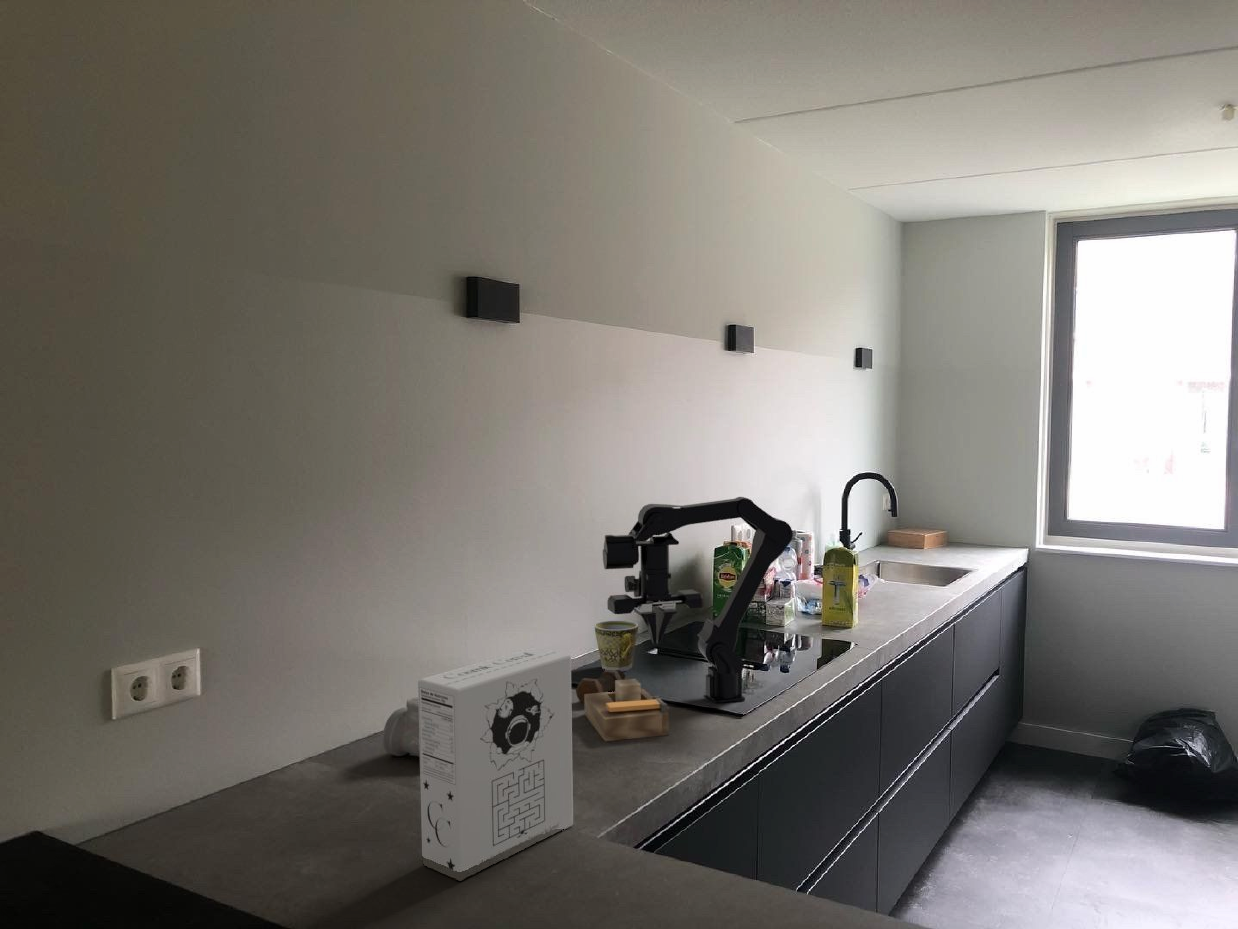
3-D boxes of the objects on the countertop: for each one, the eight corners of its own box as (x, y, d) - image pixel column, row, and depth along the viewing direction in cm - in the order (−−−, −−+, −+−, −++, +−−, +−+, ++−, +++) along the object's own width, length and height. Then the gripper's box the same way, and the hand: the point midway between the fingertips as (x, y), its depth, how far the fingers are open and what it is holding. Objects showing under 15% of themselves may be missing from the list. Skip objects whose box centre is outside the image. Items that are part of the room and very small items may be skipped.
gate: (660, 704, 184) (660, 697, 184) (665, 708, 181) (665, 702, 181) (605, 708, 181) (605, 701, 181) (610, 713, 178) (610, 706, 178)
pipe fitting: (376, 757, 168) (384, 699, 167) (407, 747, 175) (414, 690, 174) (431, 777, 162) (439, 717, 162) (461, 765, 169) (468, 707, 169)
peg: (635, 714, 191) (635, 678, 191) (641, 720, 188) (640, 684, 187) (615, 716, 190) (615, 680, 190) (620, 722, 187) (620, 686, 186)
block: (643, 708, 195) (643, 682, 194) (668, 734, 179) (668, 705, 179) (584, 714, 191) (584, 687, 191) (605, 741, 176) (604, 711, 176)
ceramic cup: (588, 665, 227) (587, 623, 226) (627, 660, 231) (626, 618, 231) (611, 679, 215) (611, 634, 215) (652, 674, 219) (651, 629, 219)
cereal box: (536, 812, 146) (533, 646, 144) (574, 825, 141) (571, 654, 139) (421, 866, 129) (416, 679, 128) (459, 883, 124) (455, 689, 123)
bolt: (622, 694, 211) (590, 712, 197) (604, 680, 213) (571, 697, 199) (635, 672, 210) (603, 688, 196) (616, 658, 211) (584, 673, 198)
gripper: (684, 558, 208) (685, 631, 209) (599, 564, 202) (600, 638, 203) (703, 566, 197) (704, 643, 198) (614, 572, 192) (616, 651, 193)
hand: (656, 643), depth 198 cm, fingers closed
